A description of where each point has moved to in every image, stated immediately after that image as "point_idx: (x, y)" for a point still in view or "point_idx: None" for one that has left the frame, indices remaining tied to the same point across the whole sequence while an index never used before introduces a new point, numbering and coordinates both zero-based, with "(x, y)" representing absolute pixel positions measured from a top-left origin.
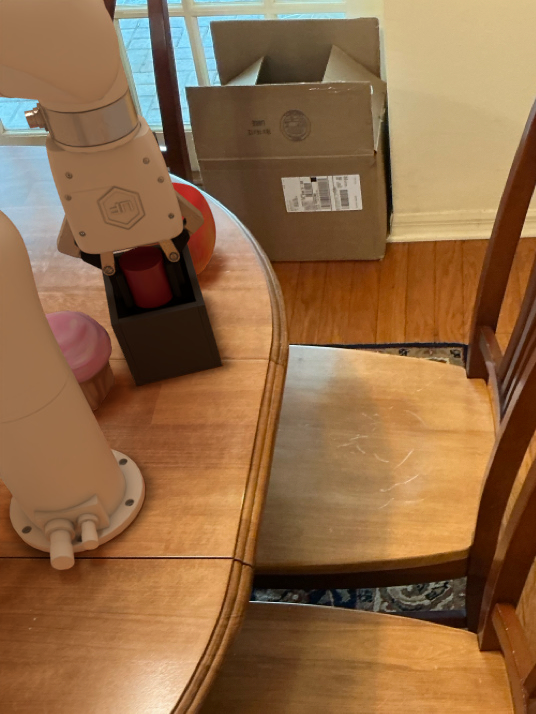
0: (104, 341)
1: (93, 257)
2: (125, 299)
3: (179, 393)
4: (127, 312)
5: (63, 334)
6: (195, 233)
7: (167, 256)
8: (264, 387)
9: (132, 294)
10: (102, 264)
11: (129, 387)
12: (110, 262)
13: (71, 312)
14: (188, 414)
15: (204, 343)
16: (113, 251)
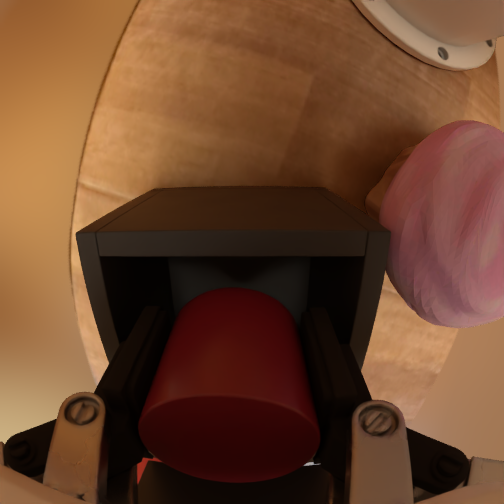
0: (408, 200)
1: (426, 467)
2: (326, 324)
3: (247, 136)
4: None
5: None
6: (146, 458)
7: (101, 420)
8: (94, 110)
9: (298, 340)
10: (405, 441)
11: (338, 191)
12: (370, 451)
13: (473, 301)
14: (239, 73)
15: (154, 200)
16: (300, 467)
